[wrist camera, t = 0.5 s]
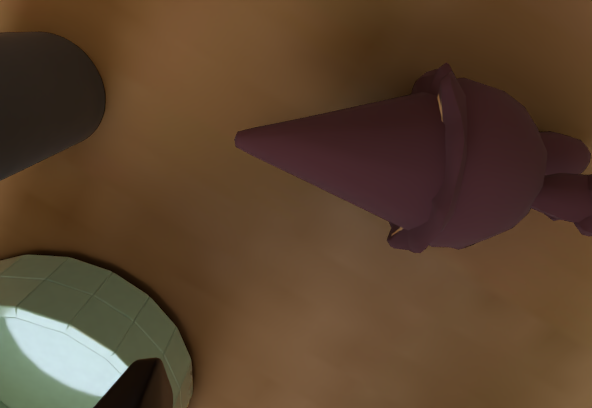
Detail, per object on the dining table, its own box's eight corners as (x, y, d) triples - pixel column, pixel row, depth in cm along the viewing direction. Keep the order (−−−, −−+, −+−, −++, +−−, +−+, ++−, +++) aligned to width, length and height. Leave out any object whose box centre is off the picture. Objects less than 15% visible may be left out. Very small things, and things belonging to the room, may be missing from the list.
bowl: (199, 457, 28) (175, 542, 24) (-22, 442, 29) (-88, 522, 24) (190, 257, 23) (158, 315, 19) (-79, 241, 24) (-177, 294, 19)
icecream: (218, 278, 16) (611, 314, 18) (229, 78, 12) (750, 146, 13) (237, 173, 22) (533, 206, 23) (249, 11, 17) (613, 63, 19)
